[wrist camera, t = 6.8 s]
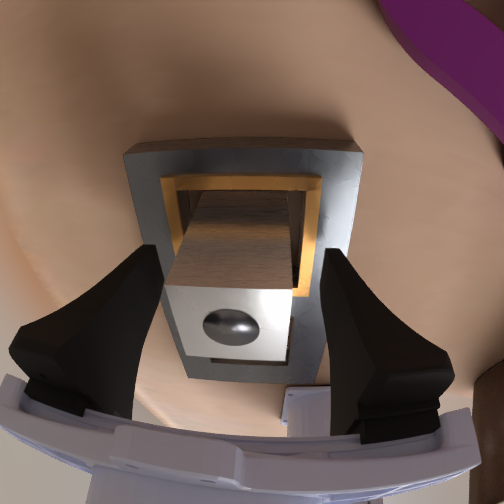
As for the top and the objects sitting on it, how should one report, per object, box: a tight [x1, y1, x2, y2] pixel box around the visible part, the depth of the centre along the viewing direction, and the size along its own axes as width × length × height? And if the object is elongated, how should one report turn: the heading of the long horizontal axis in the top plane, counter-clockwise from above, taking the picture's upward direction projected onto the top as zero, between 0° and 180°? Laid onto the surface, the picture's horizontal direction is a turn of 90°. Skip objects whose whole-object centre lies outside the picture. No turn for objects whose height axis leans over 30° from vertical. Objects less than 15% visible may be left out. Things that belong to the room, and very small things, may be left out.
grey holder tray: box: [123, 137, 364, 384], centre depth 18 cm, size 18×10×2 cm, turn 1°
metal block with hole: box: [164, 191, 293, 361], centre depth 13 cm, size 4×4×7 cm
